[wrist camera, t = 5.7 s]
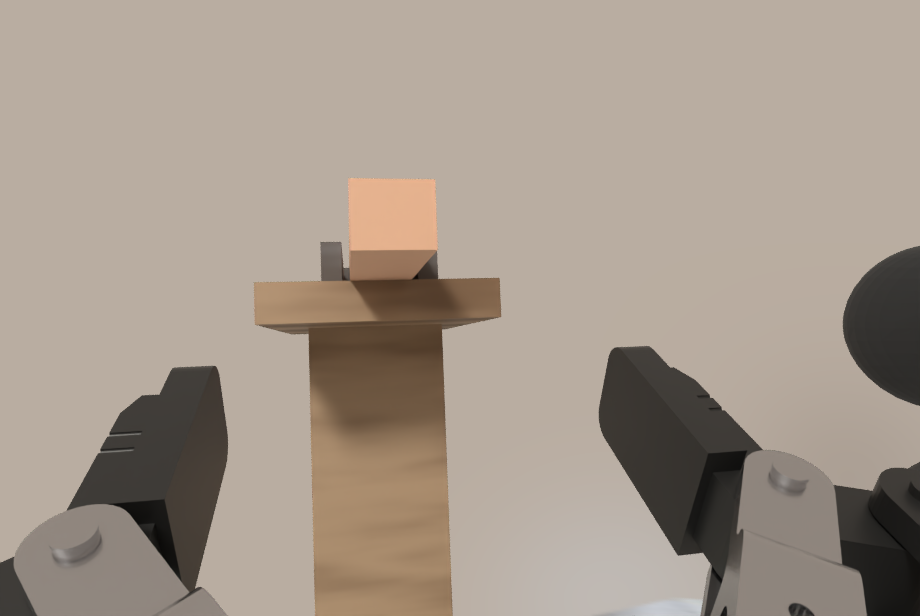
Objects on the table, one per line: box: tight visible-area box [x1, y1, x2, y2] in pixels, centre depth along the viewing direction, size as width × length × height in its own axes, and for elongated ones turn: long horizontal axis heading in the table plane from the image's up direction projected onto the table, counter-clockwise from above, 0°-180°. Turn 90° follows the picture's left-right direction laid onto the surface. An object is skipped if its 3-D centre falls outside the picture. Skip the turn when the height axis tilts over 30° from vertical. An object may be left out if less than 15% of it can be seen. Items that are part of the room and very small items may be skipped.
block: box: [349, 178, 438, 281], centre depth 31 cm, size 22×3×2 cm, turn 10°
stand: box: [254, 242, 501, 616], centre depth 38 cm, size 20×16×34 cm
